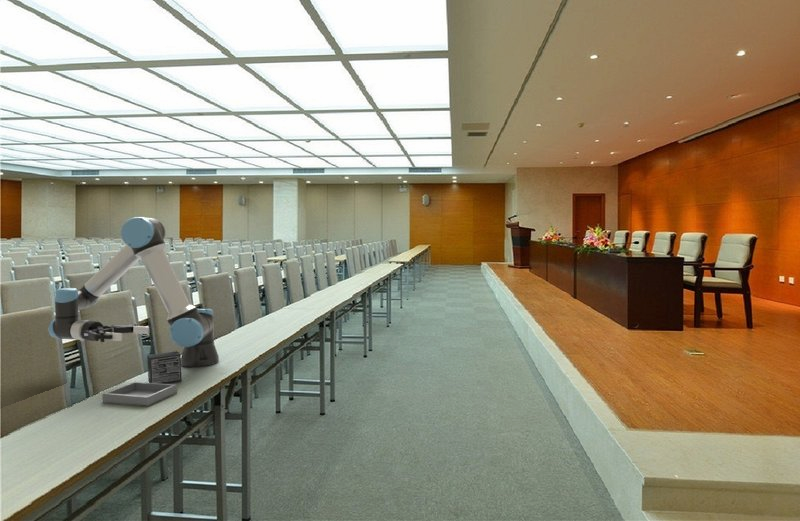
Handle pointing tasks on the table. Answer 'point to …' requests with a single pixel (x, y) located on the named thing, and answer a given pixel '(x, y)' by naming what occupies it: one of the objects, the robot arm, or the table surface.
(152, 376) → the small box
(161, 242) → the robot arm
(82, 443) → the table surface
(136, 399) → the tray
